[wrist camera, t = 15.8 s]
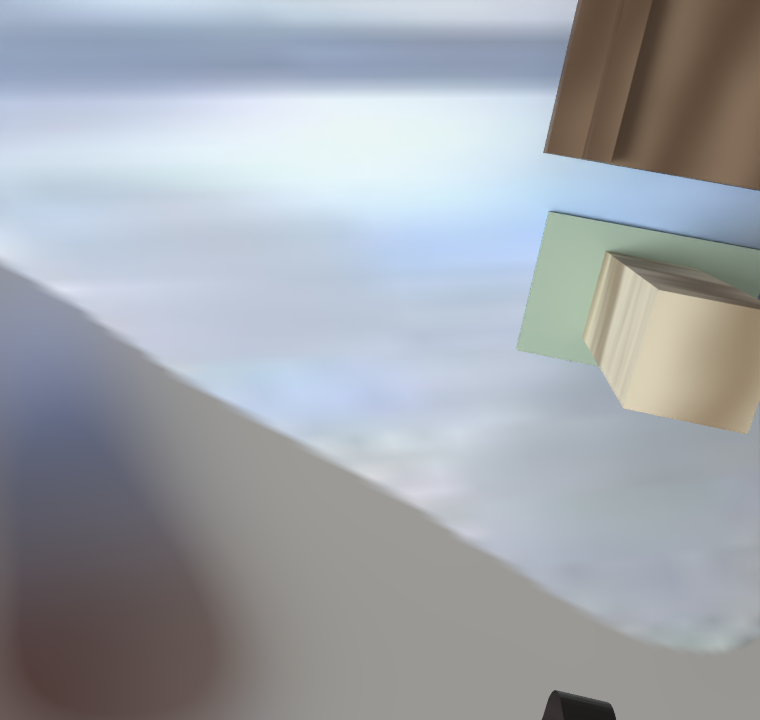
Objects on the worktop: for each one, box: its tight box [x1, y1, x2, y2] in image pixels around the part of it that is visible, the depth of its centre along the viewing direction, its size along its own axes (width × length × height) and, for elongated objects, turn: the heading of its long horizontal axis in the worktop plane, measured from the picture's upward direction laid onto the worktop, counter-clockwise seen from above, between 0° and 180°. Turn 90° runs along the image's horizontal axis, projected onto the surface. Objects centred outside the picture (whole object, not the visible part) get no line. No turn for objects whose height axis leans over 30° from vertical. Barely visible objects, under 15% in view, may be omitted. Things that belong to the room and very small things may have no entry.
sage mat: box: [516, 211, 760, 366], centre depth 40 cm, size 12×8×1 cm, turn 80°
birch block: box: [582, 251, 760, 434], centre depth 34 cm, size 5×5×12 cm
